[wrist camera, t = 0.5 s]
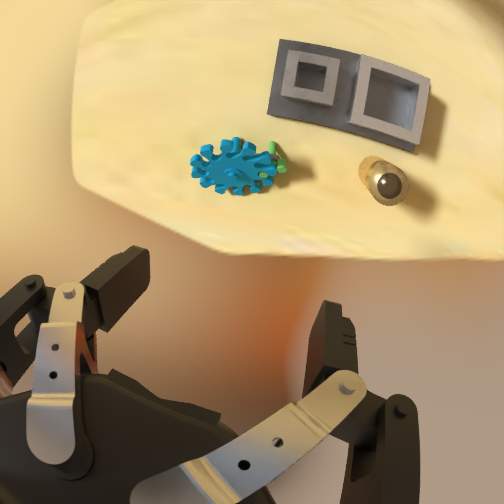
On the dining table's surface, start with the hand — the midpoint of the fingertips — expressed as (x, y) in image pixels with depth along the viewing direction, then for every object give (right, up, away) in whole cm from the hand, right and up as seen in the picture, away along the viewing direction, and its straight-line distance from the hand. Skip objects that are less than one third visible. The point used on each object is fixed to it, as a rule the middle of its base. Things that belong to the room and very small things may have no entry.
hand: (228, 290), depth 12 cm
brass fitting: (+16, +11, +18) cm, 27 cm away
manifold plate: (+12, +20, +15) cm, 28 cm away
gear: (0, +13, +22) cm, 26 cm away
